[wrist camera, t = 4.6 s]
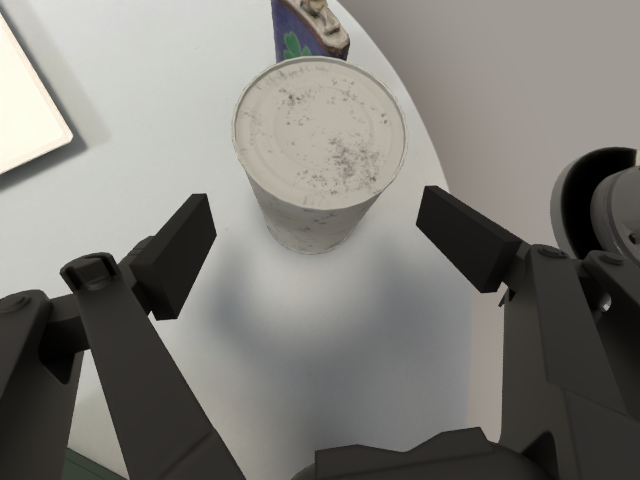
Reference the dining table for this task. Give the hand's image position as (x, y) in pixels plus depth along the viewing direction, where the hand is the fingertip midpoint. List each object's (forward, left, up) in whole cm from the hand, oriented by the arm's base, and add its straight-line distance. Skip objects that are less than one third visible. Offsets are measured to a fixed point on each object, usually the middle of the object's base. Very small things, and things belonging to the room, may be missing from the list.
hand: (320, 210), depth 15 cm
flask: (+8, -15, -10) cm, 20 cm away
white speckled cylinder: (+2, -3, -10) cm, 10 cm away
